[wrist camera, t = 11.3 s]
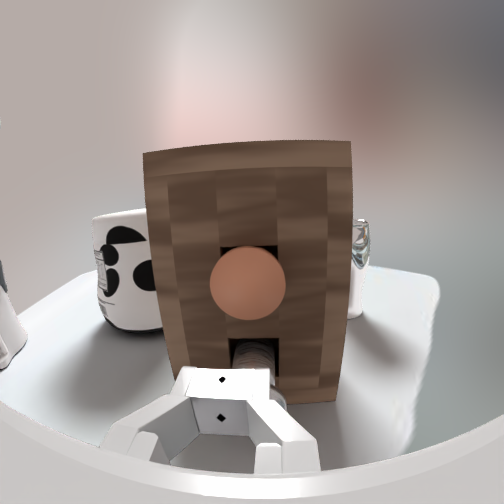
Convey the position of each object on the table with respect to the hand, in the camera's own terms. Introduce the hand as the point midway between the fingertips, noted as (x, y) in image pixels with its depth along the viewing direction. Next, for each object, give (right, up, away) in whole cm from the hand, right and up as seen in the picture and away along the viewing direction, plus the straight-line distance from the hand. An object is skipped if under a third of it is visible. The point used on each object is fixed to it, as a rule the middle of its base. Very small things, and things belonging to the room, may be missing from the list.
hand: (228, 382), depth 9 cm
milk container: (-16, -7, +36) cm, 41 cm away
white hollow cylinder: (+16, -6, +35) cm, 39 cm away
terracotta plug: (+1, +1, +15) cm, 15 cm away
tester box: (+2, -10, +21) cm, 23 cm away
